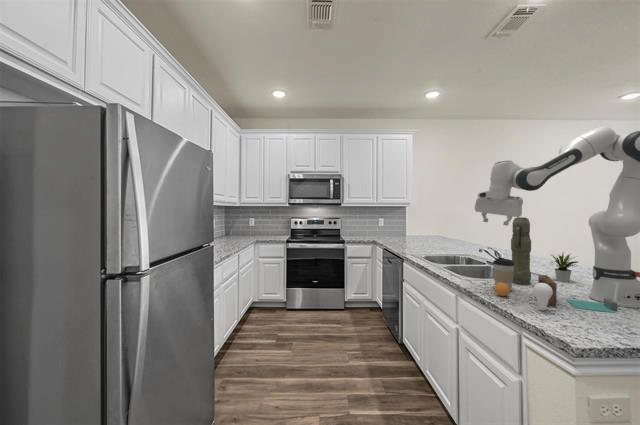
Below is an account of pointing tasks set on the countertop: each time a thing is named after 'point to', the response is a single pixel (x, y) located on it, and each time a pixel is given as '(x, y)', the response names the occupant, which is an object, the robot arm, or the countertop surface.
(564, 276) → the house plant
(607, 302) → the stopper wall
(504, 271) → the coffee cup
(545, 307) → the lightbulb
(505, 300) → the countertop surface
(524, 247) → the thermos
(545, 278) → the bridge
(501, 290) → the ball
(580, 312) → the countertop surface
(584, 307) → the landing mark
